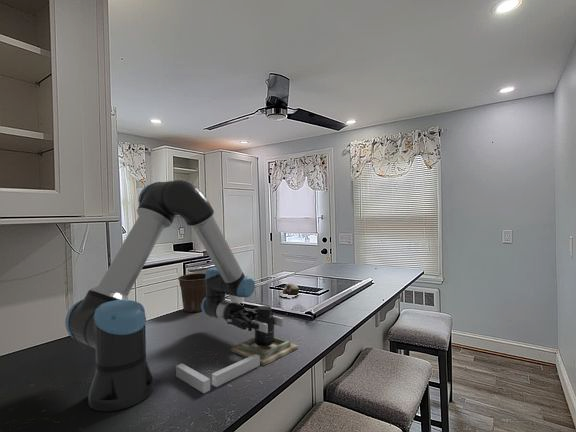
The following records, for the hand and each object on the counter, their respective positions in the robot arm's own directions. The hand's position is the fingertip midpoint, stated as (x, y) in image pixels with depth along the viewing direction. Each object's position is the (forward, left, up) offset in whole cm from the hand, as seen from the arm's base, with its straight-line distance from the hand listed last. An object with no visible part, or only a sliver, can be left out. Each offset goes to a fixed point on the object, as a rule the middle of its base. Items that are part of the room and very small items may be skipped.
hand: (274, 325), depth 107 cm
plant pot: (+12, +66, -10) cm, 68 cm away
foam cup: (+30, +56, -10) cm, 64 cm away
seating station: (0, +5, -9) cm, 11 cm away
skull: (+59, +46, -10) cm, 76 cm away
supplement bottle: (0, +5, -7) cm, 9 cm away
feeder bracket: (-19, +5, -9) cm, 22 cm away
